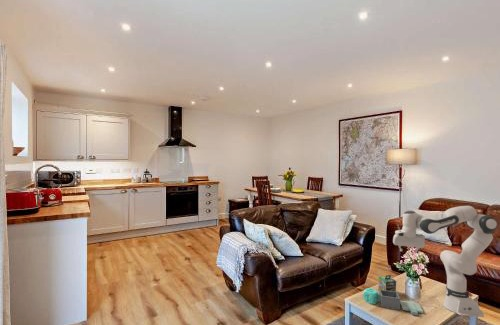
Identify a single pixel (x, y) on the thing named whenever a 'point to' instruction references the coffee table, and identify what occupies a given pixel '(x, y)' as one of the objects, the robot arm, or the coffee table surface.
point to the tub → (389, 299)
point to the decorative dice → (371, 296)
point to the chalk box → (387, 283)
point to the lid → (411, 307)
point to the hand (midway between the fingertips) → (408, 252)
